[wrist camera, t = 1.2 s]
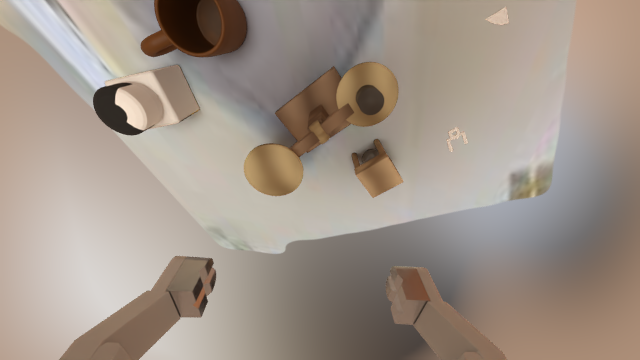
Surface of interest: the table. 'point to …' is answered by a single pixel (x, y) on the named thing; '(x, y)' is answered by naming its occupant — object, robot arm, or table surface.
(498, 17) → the beige angular frame
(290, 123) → the balance
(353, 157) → the tan peg block
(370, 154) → the grey domed cylinder
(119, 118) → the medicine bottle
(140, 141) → the table surface
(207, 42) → the mug
